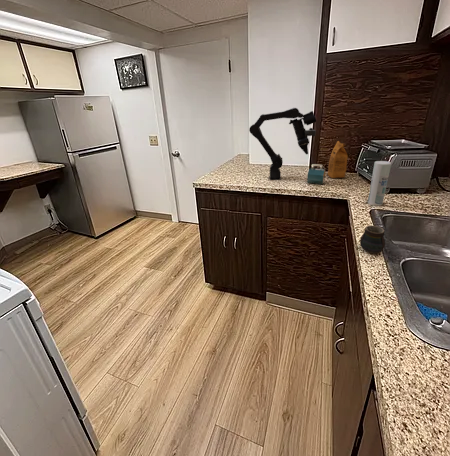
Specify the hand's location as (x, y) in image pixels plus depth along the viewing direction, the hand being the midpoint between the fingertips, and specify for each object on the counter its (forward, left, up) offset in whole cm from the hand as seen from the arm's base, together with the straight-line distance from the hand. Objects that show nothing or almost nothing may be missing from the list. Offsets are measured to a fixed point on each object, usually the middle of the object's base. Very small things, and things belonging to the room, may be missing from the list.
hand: (306, 152), depth 154 cm
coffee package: (+21, +3, -17) cm, 27 cm away
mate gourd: (-3, -83, -17) cm, 85 cm away
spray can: (+20, -44, -17) cm, 52 cm away
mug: (+4, -9, -17) cm, 20 cm away
